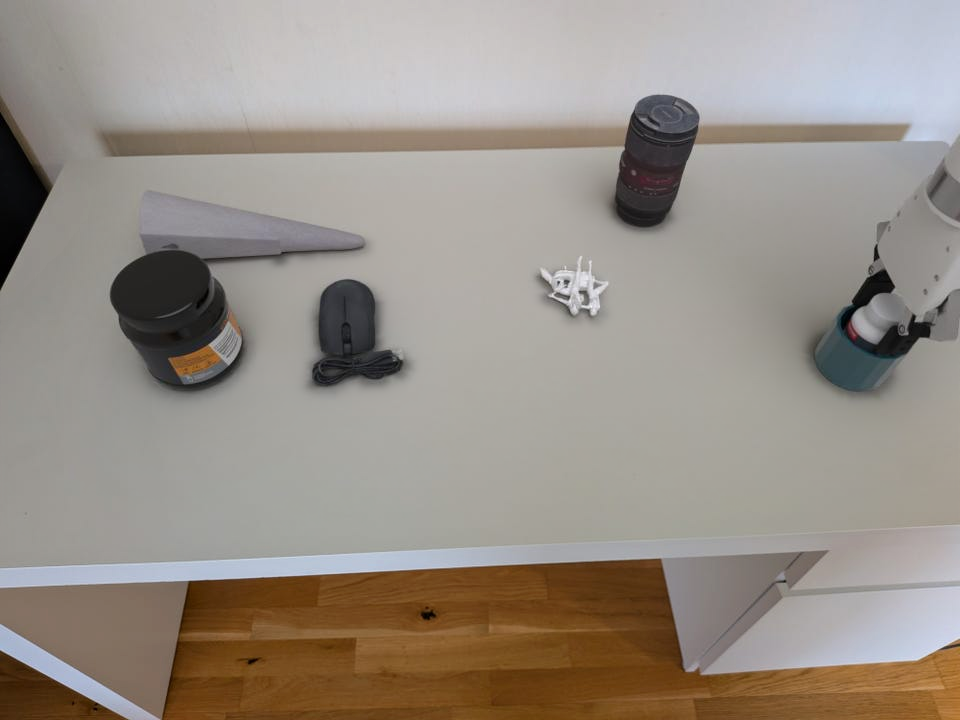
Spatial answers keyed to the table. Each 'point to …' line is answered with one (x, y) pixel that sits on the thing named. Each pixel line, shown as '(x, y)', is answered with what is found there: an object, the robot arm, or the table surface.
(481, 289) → the table surface
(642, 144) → the camera lens
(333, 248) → the tapered wedge
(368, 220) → the table surface
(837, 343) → the cup
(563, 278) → the figurine
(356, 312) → the computer mouse
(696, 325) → the table surface
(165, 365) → the supplement container
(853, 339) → the pill bottle
